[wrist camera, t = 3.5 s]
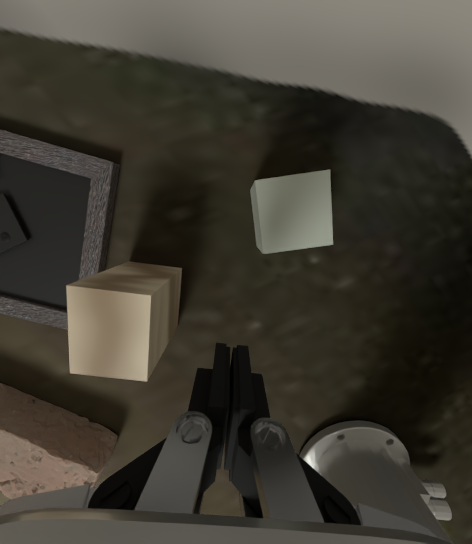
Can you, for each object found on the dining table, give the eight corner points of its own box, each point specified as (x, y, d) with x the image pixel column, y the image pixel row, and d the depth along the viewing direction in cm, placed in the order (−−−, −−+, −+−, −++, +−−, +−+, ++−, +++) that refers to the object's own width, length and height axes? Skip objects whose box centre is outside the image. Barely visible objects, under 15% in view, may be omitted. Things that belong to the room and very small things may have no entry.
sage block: (306, 182, 20) (330, 169, 15) (310, 238, 21) (333, 244, 16) (250, 190, 20) (255, 180, 15) (256, 246, 21) (263, 254, 16)
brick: (-39, 424, 25) (-98, 469, 21) (-19, 369, 24) (-79, 404, 19) (98, 478, 27) (70, 529, 23) (125, 429, 26) (101, 475, 21)
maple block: (182, 268, 21) (150, 295, 13) (177, 325, 22) (147, 381, 15) (129, 261, 21) (66, 285, 13) (127, 319, 22) (70, 373, 14)
